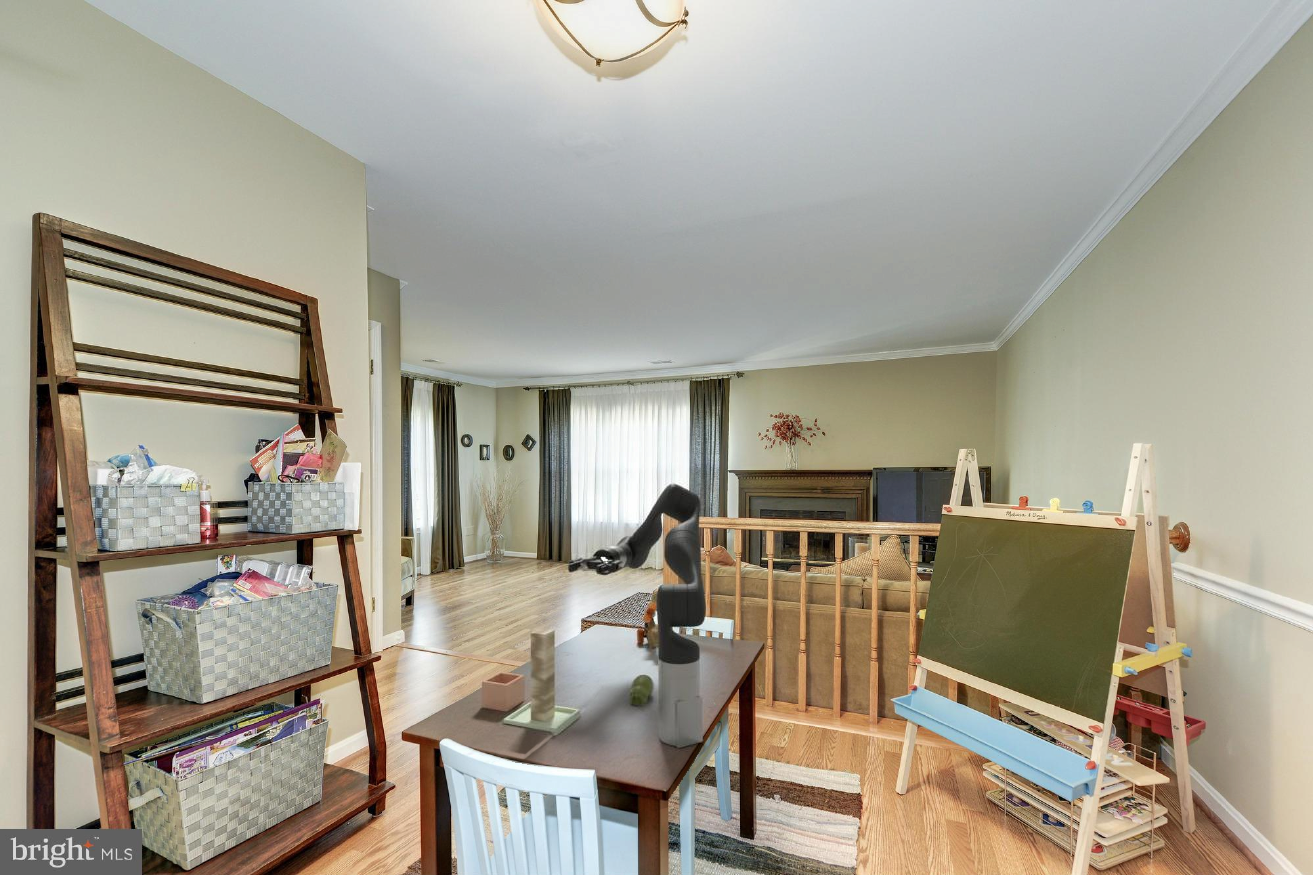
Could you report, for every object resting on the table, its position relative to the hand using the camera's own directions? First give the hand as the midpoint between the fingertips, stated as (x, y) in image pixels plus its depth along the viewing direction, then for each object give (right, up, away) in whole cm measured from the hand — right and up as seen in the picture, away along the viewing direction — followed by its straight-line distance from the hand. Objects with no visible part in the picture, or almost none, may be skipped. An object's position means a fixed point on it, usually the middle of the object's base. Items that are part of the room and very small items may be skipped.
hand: (583, 569), depth 161 cm
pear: (+16, -32, -8) cm, 36 cm away
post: (-7, -30, -21) cm, 37 cm away
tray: (-7, -31, -21) cm, 38 cm away
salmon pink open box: (-19, -32, -12) cm, 39 cm away
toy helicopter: (+18, -34, +34) cm, 52 cm away
